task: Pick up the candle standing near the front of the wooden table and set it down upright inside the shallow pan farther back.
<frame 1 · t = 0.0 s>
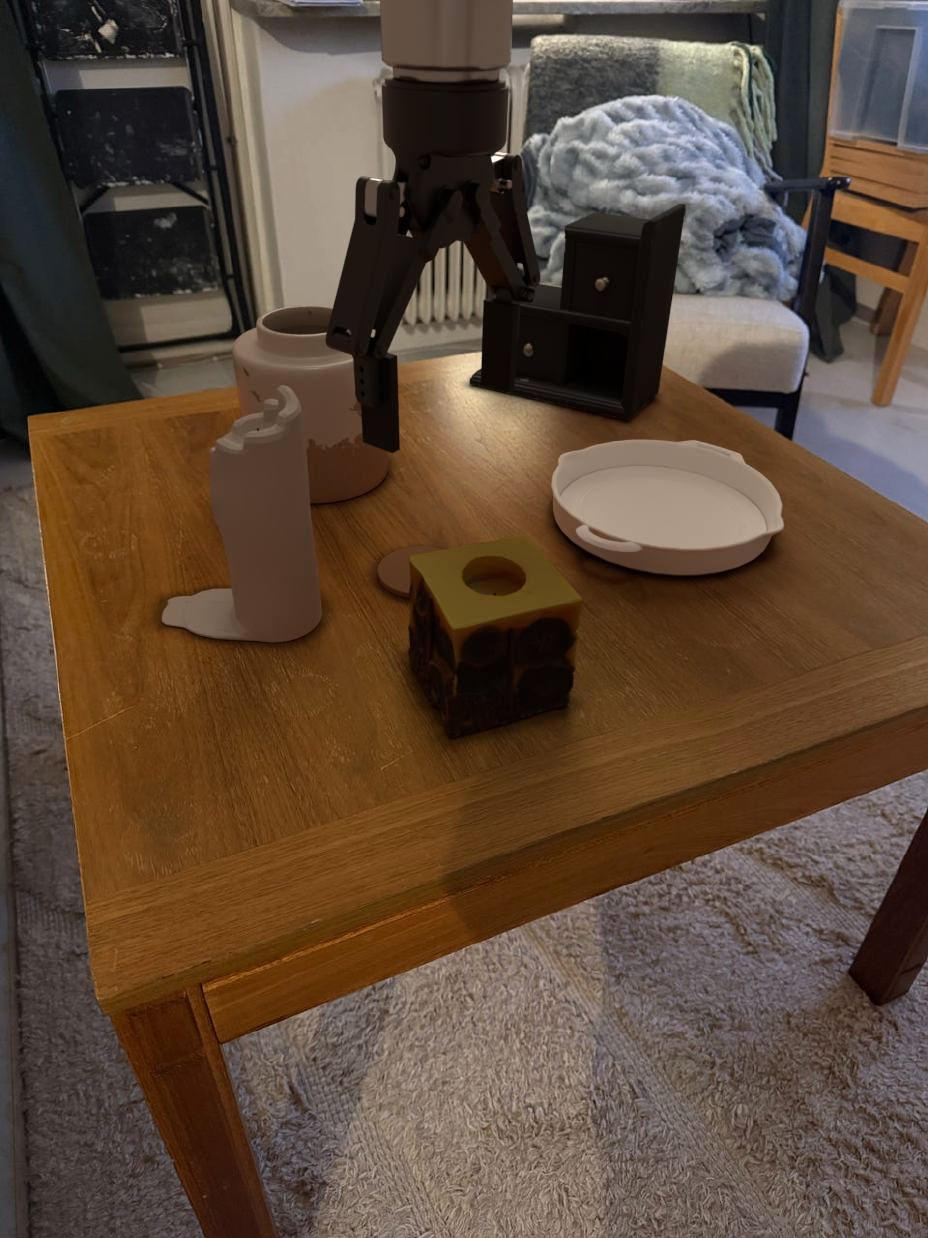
hand: (443, 415, 63), 19 cm above the table, tool pointing down, fingers open, 13 cm apart
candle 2: (241, 616, 74), on the table
coaster: (421, 574, 80), on the table
pan: (657, 522, 89), on the table
vase: (319, 472, 96), on the table
black mini drawer cabinet: (562, 391, 116), on the table
candle: (486, 684, 68), on the table
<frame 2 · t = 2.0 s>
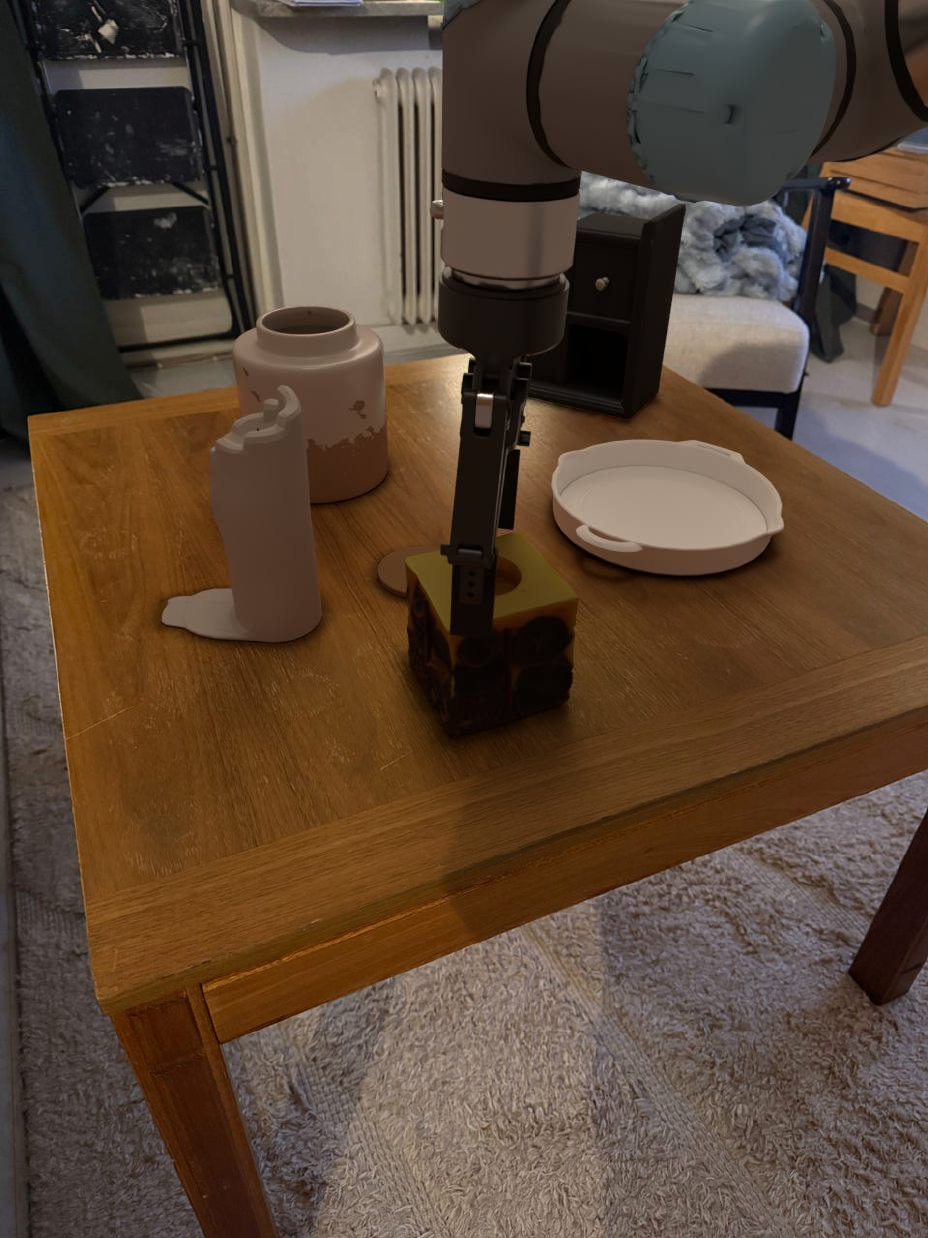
hand: (484, 576, 62), 10 cm above the table, tool pointing down, fingers open, 13 cm apart
candle: (486, 683, 68), on the table, touching gripper
everything else where it was.
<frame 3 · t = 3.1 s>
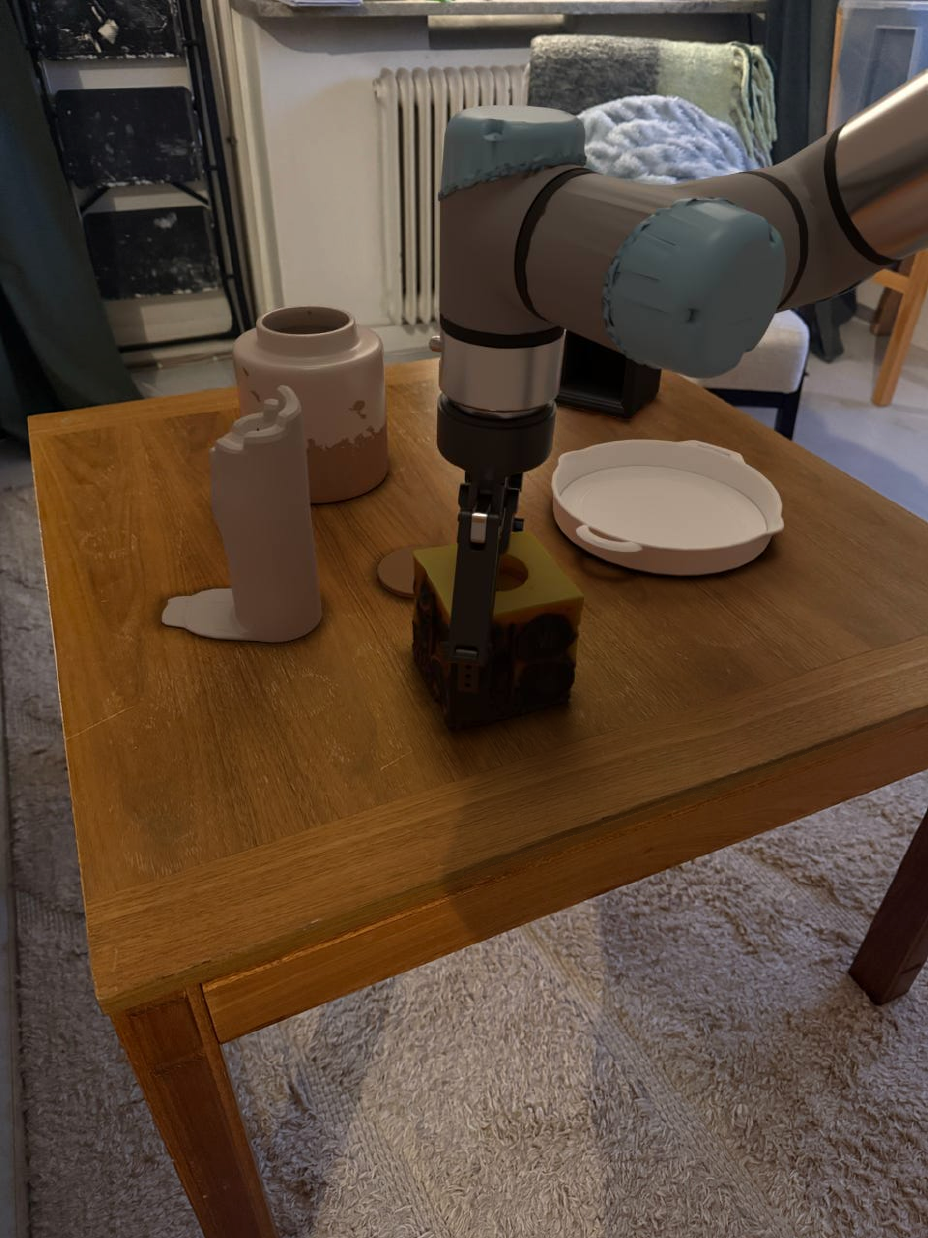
hand: (481, 654, 67), 2 cm above the table, tool pointing down, fingers closed on candle, 13 cm apart
candle: (488, 679, 68), on the table, touching gripper
everything else where it was.
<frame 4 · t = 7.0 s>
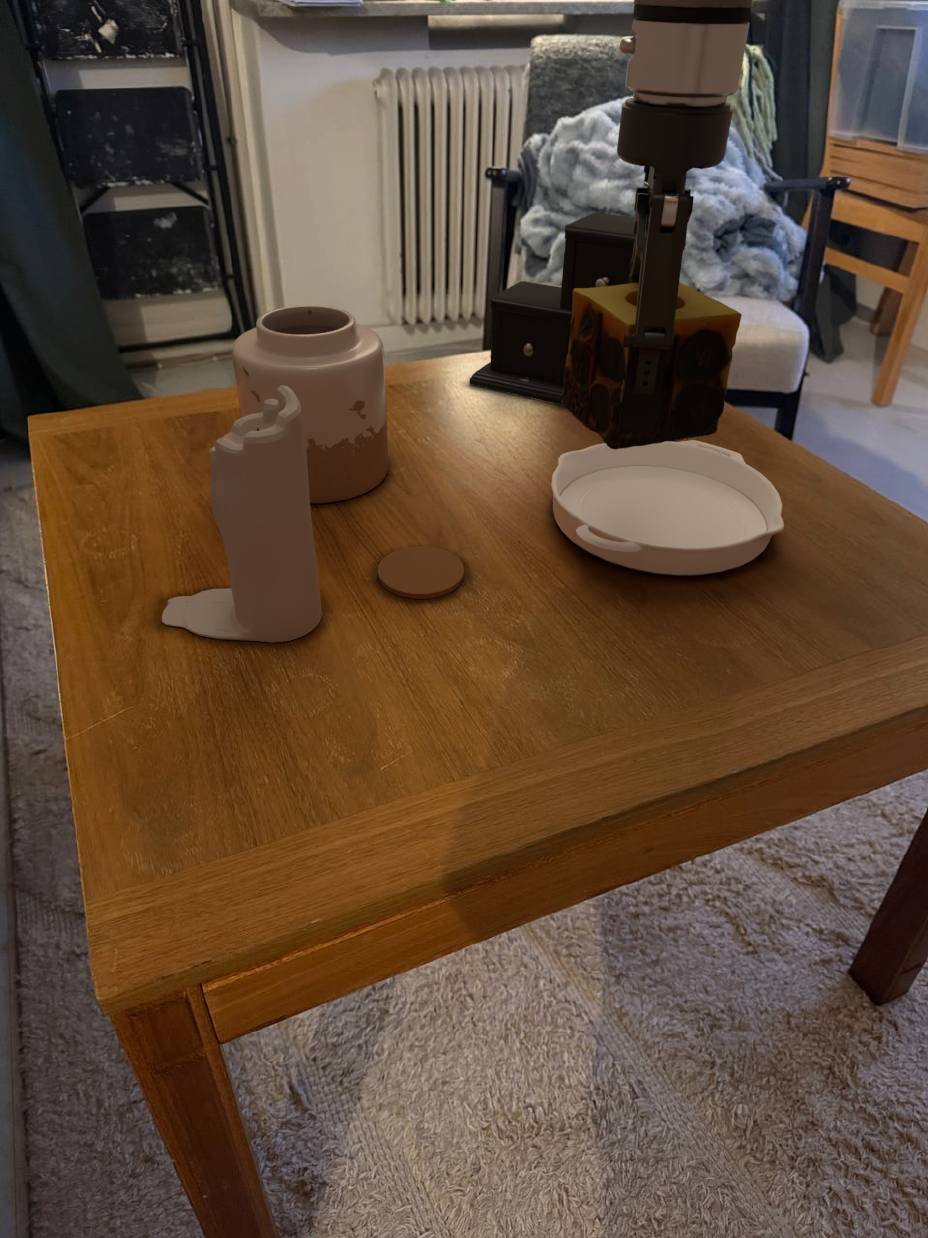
hand: (634, 395, 72), 17 cm above the table, tool pointing down, fingers closed on candle, 13 cm apart
candle: (635, 422, 73), point 14 cm above the table, touching gripper
everything else where it was.
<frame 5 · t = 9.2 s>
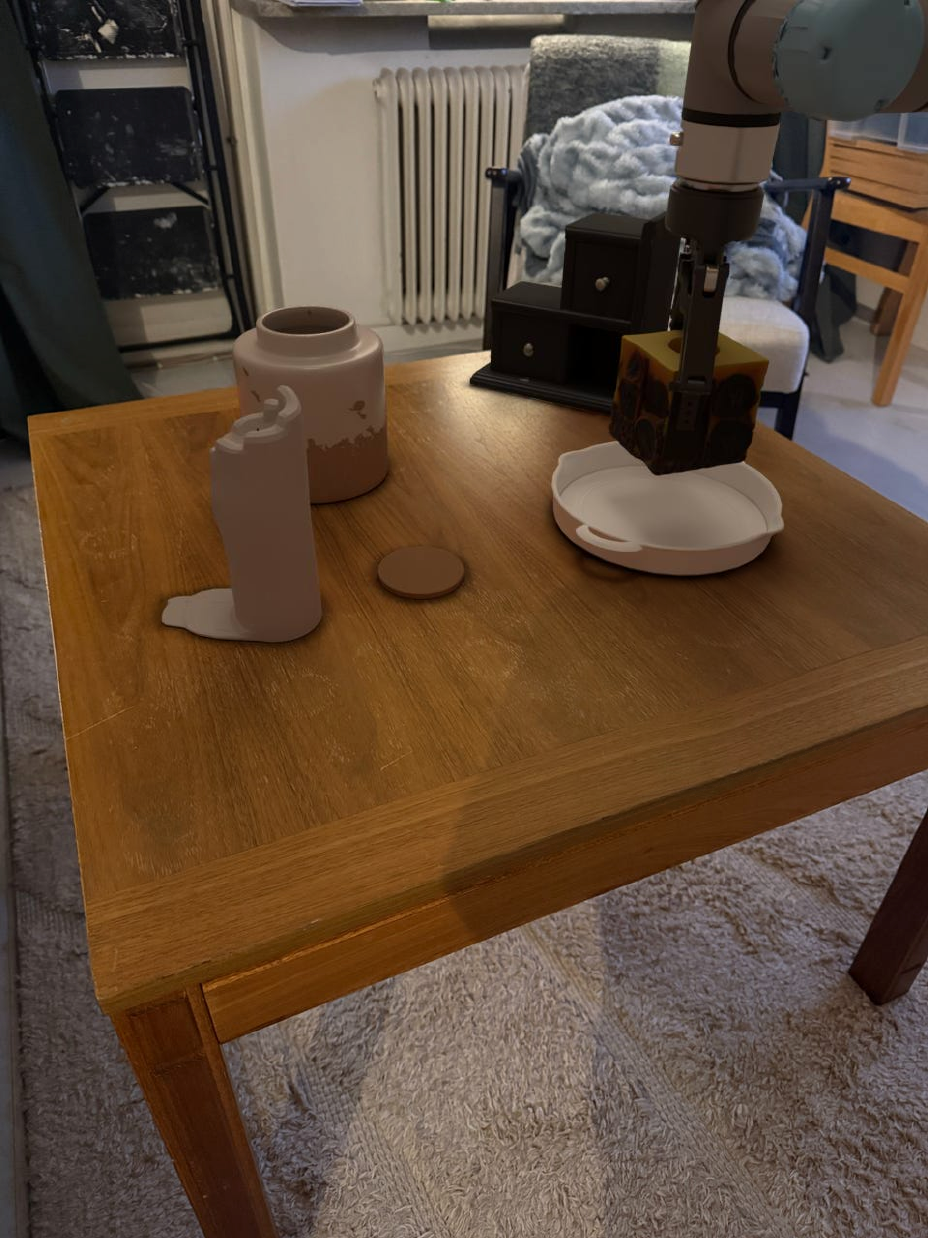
hand: (674, 427, 82), 10 cm above the table, tool pointing down, fingers closed on candle, 13 cm apart
candle: (674, 450, 84), point 8 cm above the table, touching gripper
everything else where it was.
when the fingers open (5 cm above the table, at t = 10.9 s): candle stays where it is, resting on pan.
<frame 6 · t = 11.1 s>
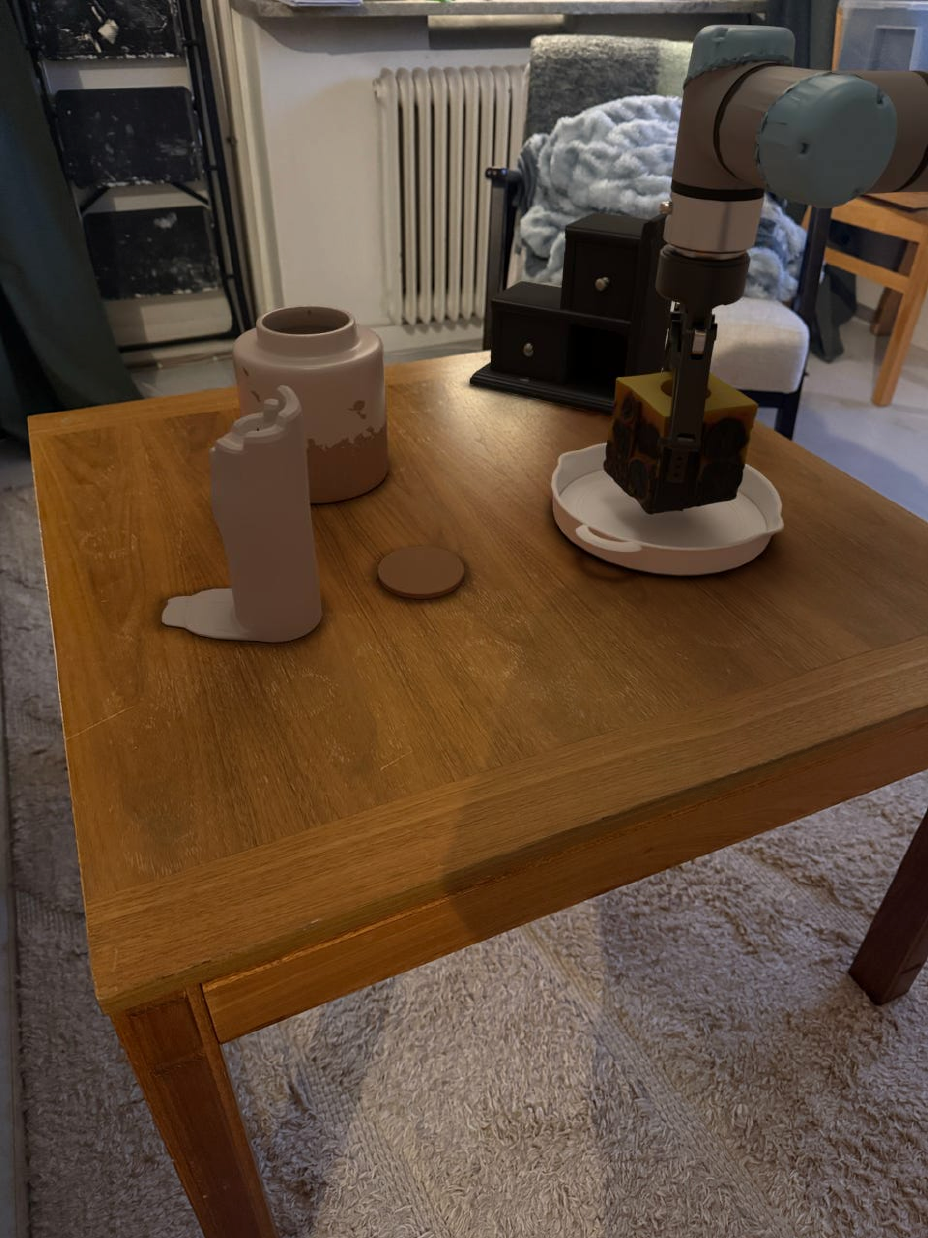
hand: (665, 474, 85), 5 cm above the table, tool pointing down, fingers open, 13 cm apart
pan: (657, 522, 89), on the table, touching candle
candle: (667, 487, 86), point 4 cm above the table, touching gripper, pan
everything else where it was.
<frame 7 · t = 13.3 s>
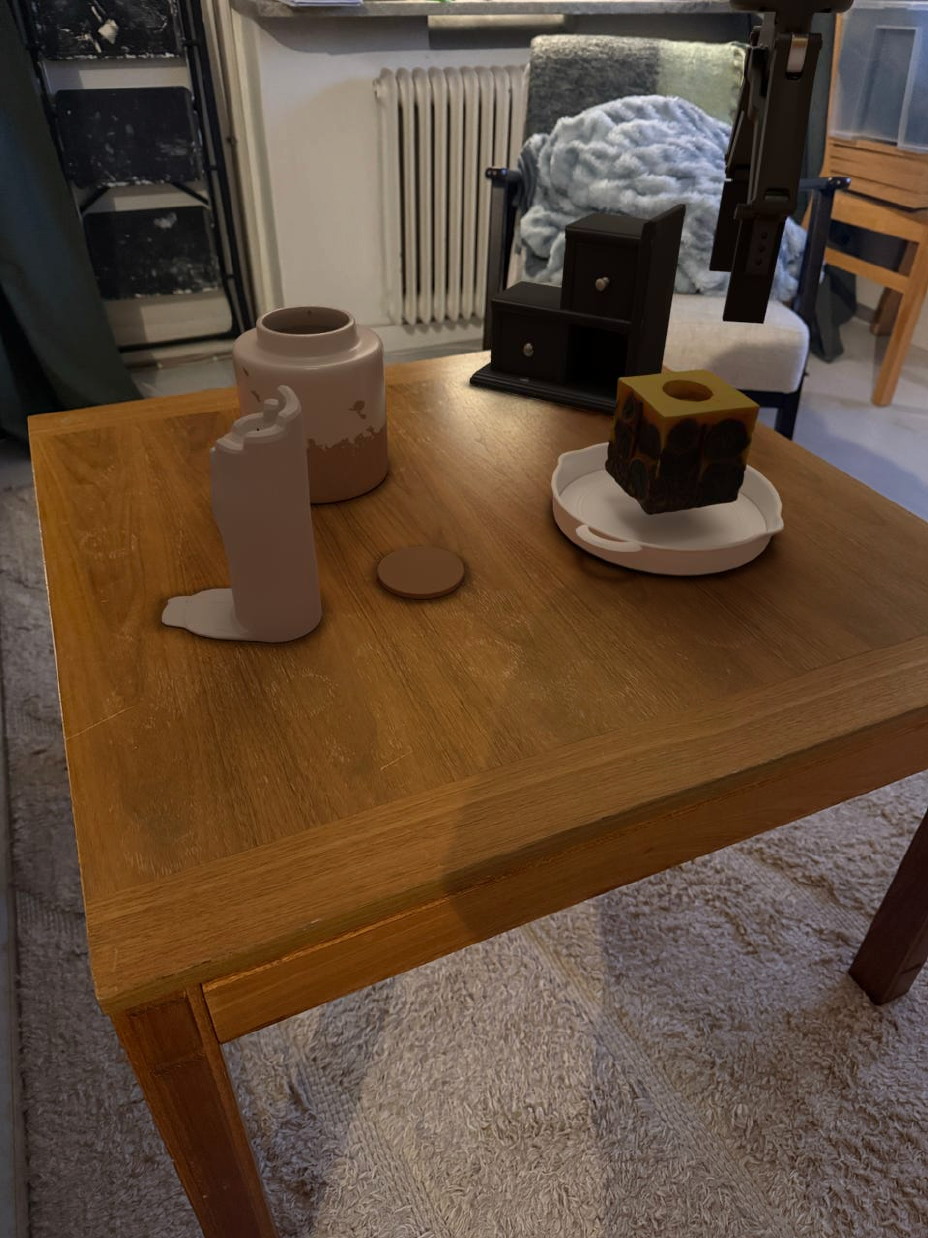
hand: (733, 294, 65), 26 cm above the table, tool pointing down, fingers open, 13 cm apart
candle: (668, 488, 86), point 4 cm above the table, touching pan
everything else where it was.
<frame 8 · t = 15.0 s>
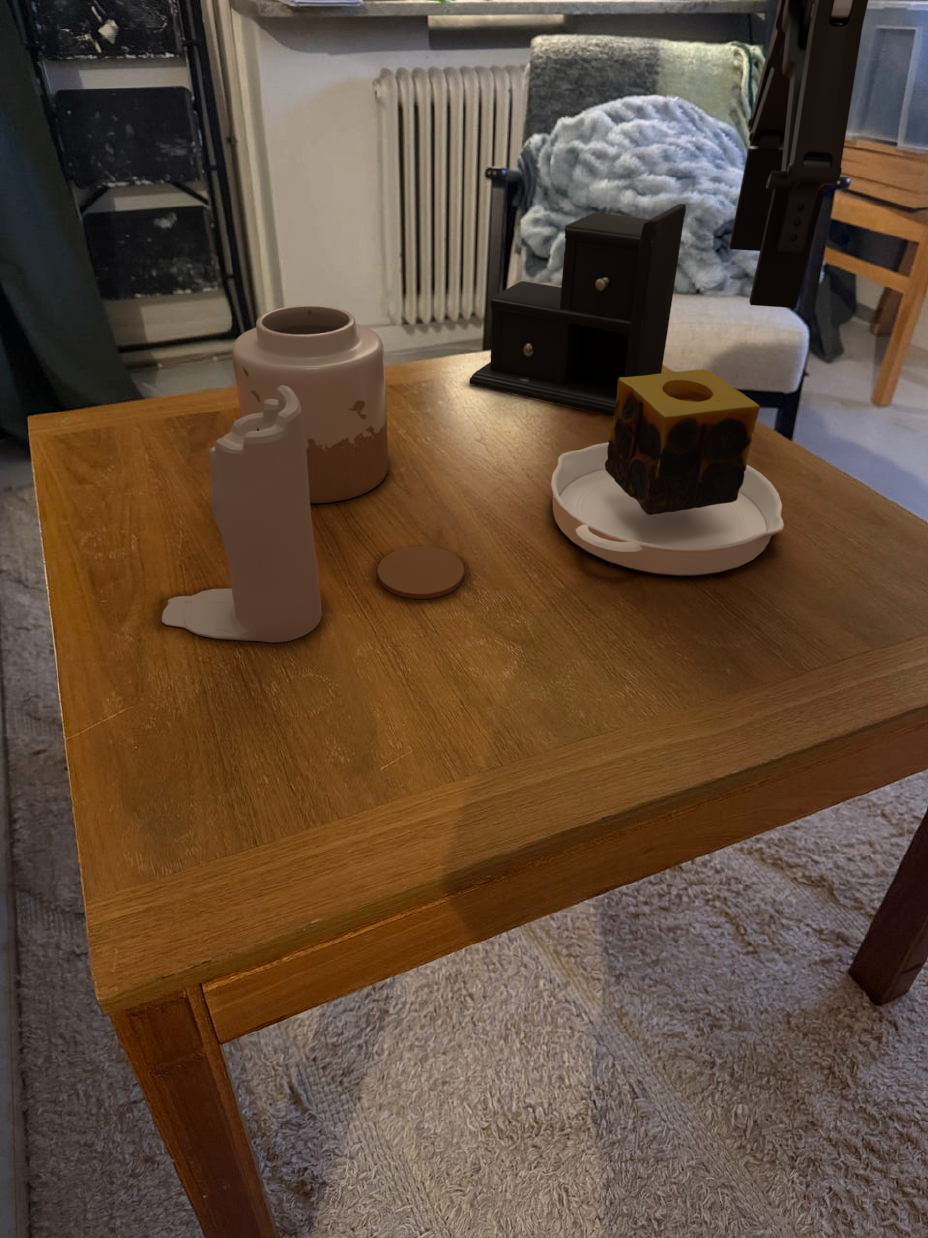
hand: (759, 275, 58), 29 cm above the table, tool pointing down, fingers open, 13 cm apart
nothing on the table moved.
at the end: candle inside the target area in the pan (0.5 cm from its centre), point 4.0 cm above the pan's base; candle tilted 0°; the gripper is holding nothing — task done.
